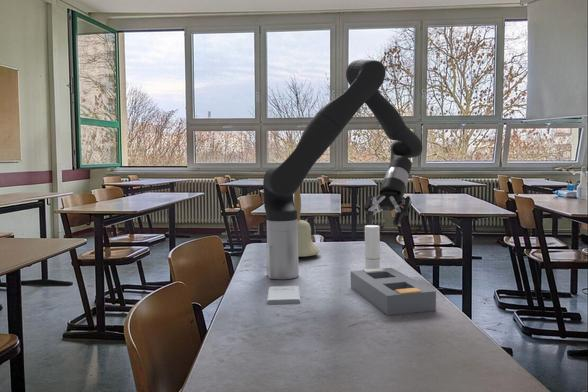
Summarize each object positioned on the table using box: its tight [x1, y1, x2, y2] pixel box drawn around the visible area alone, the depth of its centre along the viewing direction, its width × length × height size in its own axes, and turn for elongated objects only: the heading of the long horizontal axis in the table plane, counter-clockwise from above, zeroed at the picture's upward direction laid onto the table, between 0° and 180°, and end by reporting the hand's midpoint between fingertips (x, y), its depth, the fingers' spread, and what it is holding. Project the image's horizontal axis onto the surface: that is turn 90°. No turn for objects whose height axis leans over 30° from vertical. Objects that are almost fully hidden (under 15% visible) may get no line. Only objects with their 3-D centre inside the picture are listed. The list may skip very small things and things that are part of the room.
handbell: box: [293, 187, 321, 258], centre depth 172 cm, size 15×15×25 cm
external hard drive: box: [266, 285, 301, 305], centre depth 125 cm, size 2×8×12 cm
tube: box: [364, 224, 381, 269], centre depth 141 cm, size 4×4×15 cm
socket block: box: [350, 267, 437, 317], centre depth 121 cm, size 24×12×5 cm, turn 13°
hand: (381, 223), depth 147 cm, fingers open, 8 cm apart
